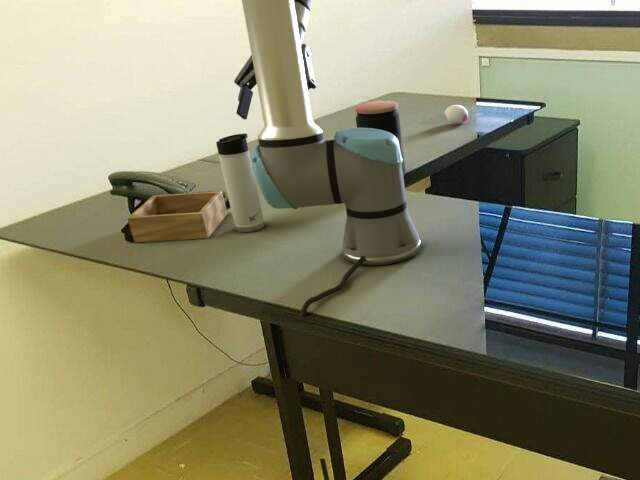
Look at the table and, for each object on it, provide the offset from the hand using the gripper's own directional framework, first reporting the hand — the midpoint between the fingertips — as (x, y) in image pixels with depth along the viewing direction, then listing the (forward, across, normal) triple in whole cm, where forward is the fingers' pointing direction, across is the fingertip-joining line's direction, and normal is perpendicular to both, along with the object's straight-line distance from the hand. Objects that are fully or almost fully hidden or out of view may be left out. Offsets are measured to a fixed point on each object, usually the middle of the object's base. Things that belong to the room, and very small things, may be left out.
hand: (266, 117), depth 171 cm
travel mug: (+24, +1, -5) cm, 24 cm away
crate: (+26, +17, -2) cm, 31 cm away
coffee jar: (-2, -11, -36) cm, 37 cm away
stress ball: (-41, -3, -82) cm, 91 cm away
